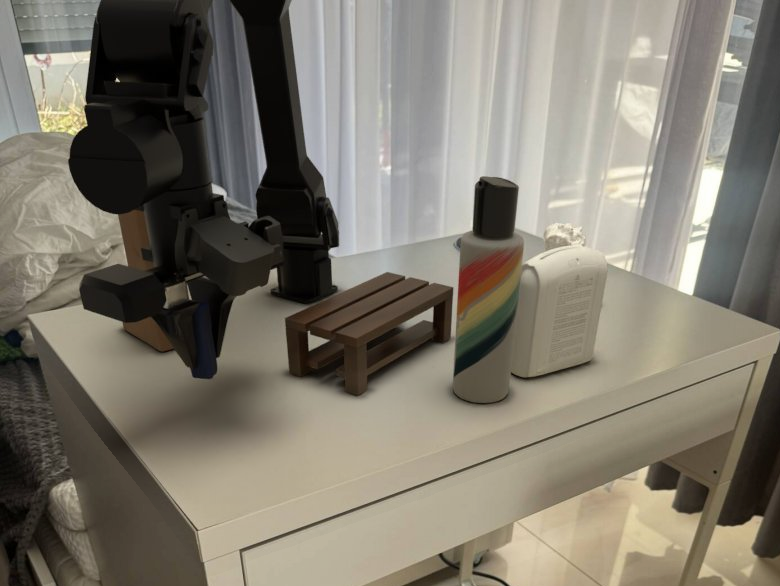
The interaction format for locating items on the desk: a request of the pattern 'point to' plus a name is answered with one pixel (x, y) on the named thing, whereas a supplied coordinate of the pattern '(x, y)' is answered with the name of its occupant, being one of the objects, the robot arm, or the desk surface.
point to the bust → (563, 236)
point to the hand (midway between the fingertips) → (203, 362)
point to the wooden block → (133, 242)
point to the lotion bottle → (488, 294)
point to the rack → (367, 326)
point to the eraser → (204, 343)
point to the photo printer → (558, 310)
